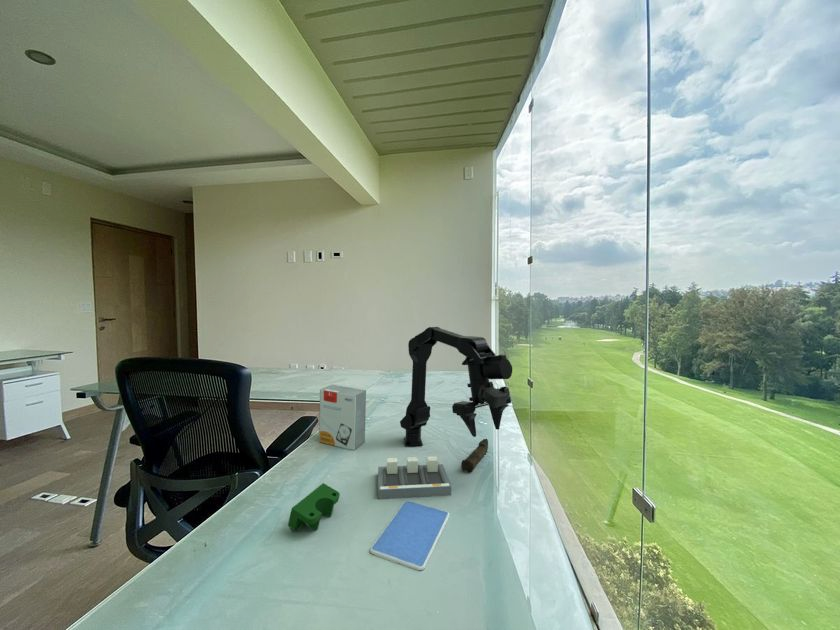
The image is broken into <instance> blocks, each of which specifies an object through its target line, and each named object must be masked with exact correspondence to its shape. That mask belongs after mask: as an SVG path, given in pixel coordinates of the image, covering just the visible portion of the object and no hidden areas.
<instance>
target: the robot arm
mask: <svg viewBox="0 0 840 630" xmlns="http://www.w3.org/2000/svg"><path fill="white" fill-rule="evenodd" d="M438 342H439V343H441V344H444V345H447V346H450V347H452V348H455V349H456V350H457V351H458V352H459V353H460V354H462V355H463V356H465V359H464V360H463V361H462V363H461V365H462V366H467V369H468V372H467V373H468V378H469V383H467V388H470V393H471V396H470V397H468V400H469V401H468V400H467V401H466V400H465V401H464V400H461V401H457V402H454V403H453V405H452V410H451V411H452V414H456V416H459V417H460V418H461V420H462V422H464V424H465V426H466V427H467V429H468V430H469V432H470V435H471V436H472V437H473V438H476V437H477V428H476V421H475V420H476V419H475V418H476V416H477V415H478V414H477V413H475V412H476V409H479V408H481V407H485V406H488V407H489V411H490V414H491V419H492V422H493V425H494V427H495V428H494V429H495V430H497V431H498V430H500V426H501V422H502V417H503V412H504V411H505V409H506V408H508V407H509V404H512V398H511V396H510V395H511V393H510V387H508V386H506V385H504V386H501V387H500V388H499V387H498V388H495V387H494V383H493V381H490V380H509V379H511V377H512V374H513V365H512V364H511V361H510V360H509V359H508V358H507V355H506V354H497V353H495V352H494V351H493V349H492V348H491V346H489V344H488V342H487V340H486V338H484V337H482V336H473V335H472V336H470V335H469V336H467V335H462V334H459V333H457V332H456V333H455V332H454V331H453V332H452V331H450V330H447V329H443V328H441V327H439V326H428V327H427V328H425V329H424V330H423V331H422V332H420V333H418V334H417V335H415V336H414V337H412V338H410V340H409V341H408V345H407V346H408V347H407V348H408V355H409V357H410V359H411V361H412V368H411V369H412V375H411V399H410V401H409V403H408V405H407V407H406V410H405V415H404V417H402V419H401V420H400V421H399V423H400V428H402V429H403V430H405V437H403V442H404V443H403V444H404V446H405V447H422V446H423V445H424V443H423V440H422V427H424V426H427V423H428V422H429V419H430V418H431V406H430V405H428V404H427V402H426V381H427V362H428V360H429V358H430V357H431V355H432V350H433V347H434V346H435V345H436V344H437V343H438Z"/></svg>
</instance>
